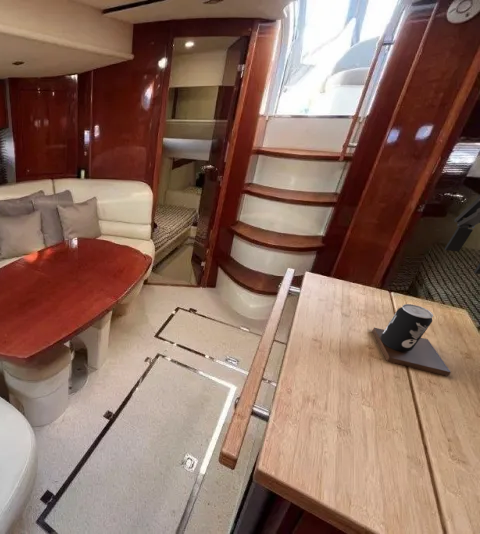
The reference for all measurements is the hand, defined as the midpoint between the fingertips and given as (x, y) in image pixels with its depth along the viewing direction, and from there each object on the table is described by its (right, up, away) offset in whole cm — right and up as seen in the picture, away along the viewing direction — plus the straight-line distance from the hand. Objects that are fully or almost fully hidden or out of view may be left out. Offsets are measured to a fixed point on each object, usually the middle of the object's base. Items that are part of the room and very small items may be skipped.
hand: (465, 261), depth 79 cm
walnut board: (-10, -25, +5) cm, 28 cm away
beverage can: (-13, -23, +5) cm, 27 cm away
